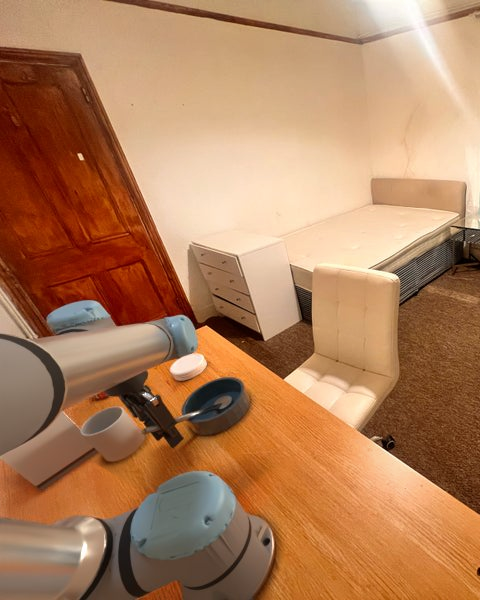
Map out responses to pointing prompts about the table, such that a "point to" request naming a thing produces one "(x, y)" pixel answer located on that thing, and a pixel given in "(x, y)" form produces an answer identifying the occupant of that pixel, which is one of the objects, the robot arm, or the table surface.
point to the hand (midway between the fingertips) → (170, 439)
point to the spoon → (199, 412)
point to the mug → (112, 433)
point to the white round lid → (188, 367)
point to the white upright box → (50, 453)
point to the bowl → (207, 398)
